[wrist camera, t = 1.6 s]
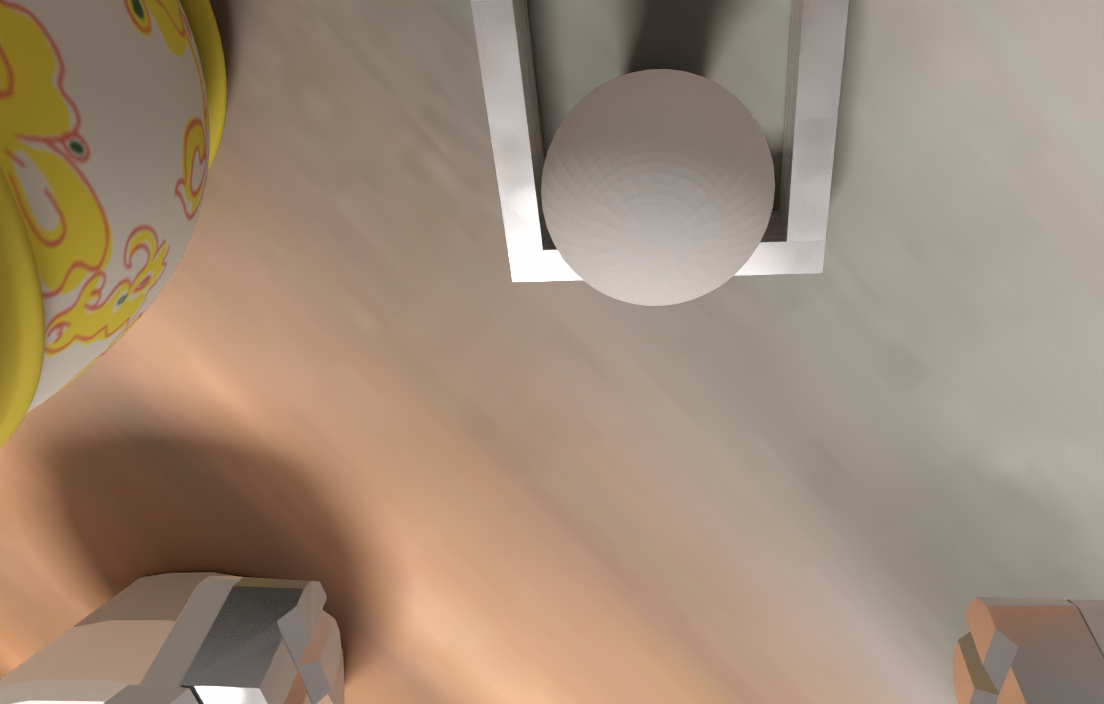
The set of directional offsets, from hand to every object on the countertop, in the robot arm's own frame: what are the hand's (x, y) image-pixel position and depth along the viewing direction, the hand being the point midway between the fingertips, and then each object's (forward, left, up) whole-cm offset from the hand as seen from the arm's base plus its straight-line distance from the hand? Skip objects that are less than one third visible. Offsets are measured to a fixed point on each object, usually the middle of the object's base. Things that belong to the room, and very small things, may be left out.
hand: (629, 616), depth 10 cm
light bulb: (0, 0, -20) cm, 20 cm away
